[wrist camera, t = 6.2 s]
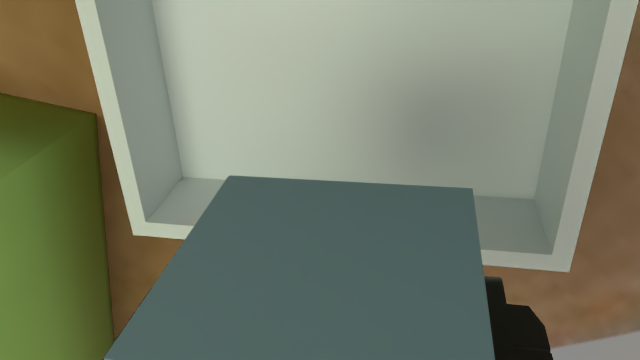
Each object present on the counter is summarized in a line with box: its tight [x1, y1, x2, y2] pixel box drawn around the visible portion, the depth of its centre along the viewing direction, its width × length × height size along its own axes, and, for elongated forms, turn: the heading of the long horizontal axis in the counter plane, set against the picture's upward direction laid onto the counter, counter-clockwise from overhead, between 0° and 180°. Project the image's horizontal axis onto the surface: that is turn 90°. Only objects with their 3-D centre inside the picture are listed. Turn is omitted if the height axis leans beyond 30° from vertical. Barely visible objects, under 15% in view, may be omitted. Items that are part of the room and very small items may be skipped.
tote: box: [75, 0, 639, 272], centre depth 22 cm, size 20×14×5 cm
